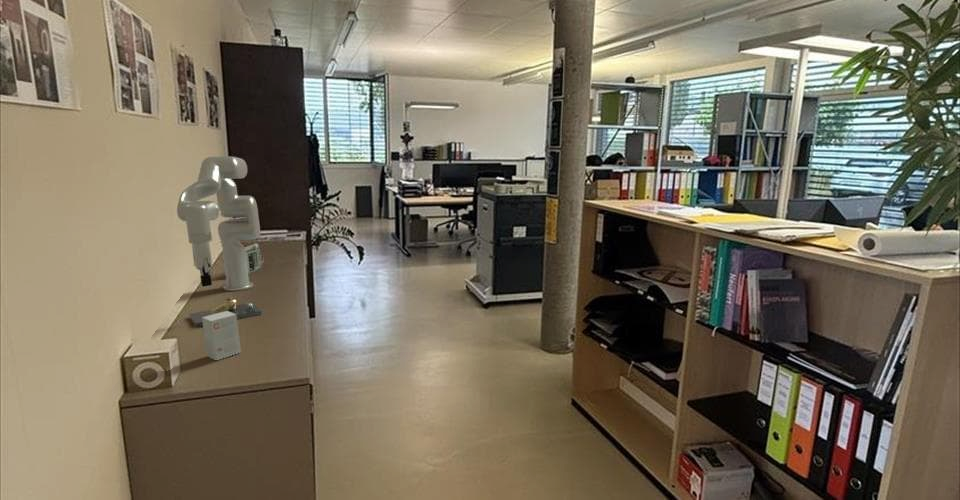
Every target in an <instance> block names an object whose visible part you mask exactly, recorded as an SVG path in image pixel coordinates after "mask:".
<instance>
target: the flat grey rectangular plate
mask: <svg viewBox="0 0 960 500" xmlns="http://www.w3.org/2000/svg"><path fill="white" fill-rule="evenodd" d="M211 310H212V309H209V310H208V309H207V310H204V311H198V312H192V313H188V316H189V319H190V321H191V323H192V324H193V325H194V327H195V328H198V327H203V323H202V317H205V316H209V315H211V313H210V311H211ZM229 312H231V313H234V314H236V317H237V320H240V319H245V318H249V317H254V316H255V317H256V316H261V315H262V310H261V309H260V308H259V307H257V305H256V304H255V303H254V302H250V301H248V302H246V303H243V304H242V303H241V304H237V309H236V310H232V311H229Z"/></svg>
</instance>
